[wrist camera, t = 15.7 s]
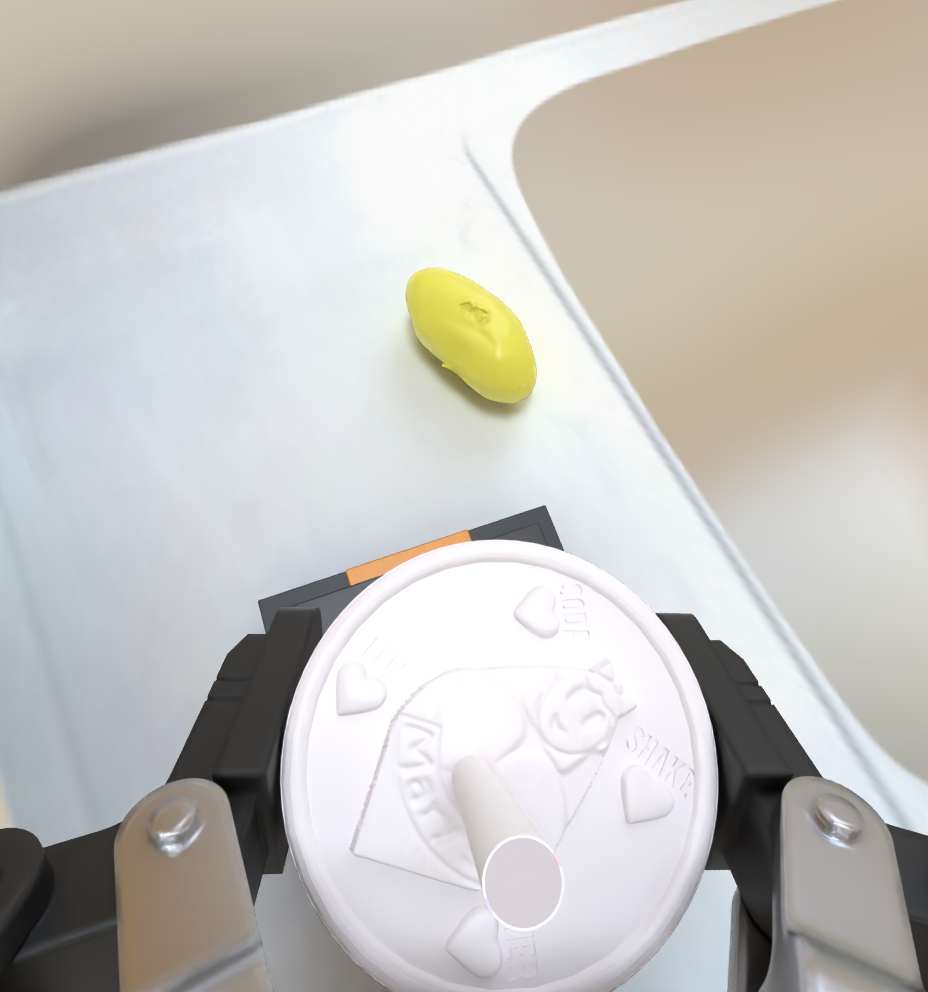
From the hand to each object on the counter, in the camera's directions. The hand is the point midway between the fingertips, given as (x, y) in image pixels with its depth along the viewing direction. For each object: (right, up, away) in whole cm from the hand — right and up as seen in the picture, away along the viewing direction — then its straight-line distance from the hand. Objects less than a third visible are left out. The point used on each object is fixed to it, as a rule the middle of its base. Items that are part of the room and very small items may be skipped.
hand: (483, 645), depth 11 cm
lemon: (0, +10, +17) cm, 20 cm away
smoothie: (-1, -4, +6) cm, 7 cm away
